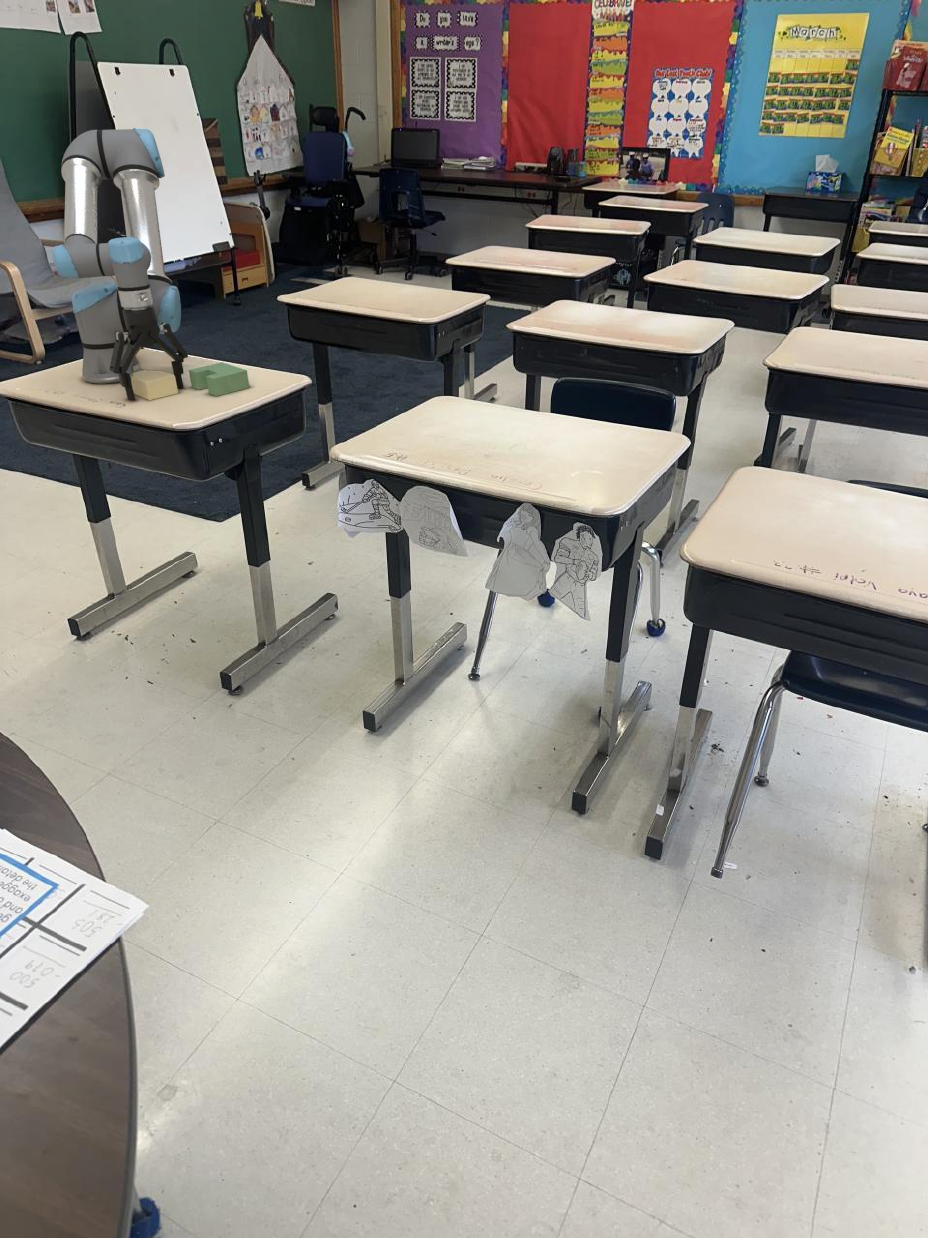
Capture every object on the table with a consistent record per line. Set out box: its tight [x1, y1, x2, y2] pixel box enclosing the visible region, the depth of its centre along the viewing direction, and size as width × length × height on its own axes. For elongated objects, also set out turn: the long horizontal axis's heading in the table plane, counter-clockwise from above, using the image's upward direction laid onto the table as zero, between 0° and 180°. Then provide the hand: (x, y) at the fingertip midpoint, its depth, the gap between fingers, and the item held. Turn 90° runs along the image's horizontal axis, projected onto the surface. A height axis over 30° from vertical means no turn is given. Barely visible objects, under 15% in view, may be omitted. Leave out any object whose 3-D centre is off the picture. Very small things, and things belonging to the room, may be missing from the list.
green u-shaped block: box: [188, 361, 250, 397], centre depth 223 cm, size 12×10×4 cm
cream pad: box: [131, 369, 179, 401], centre depth 220 cm, size 8×11×4 cm
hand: (156, 393), depth 220 cm, fingers open, 13 cm apart
